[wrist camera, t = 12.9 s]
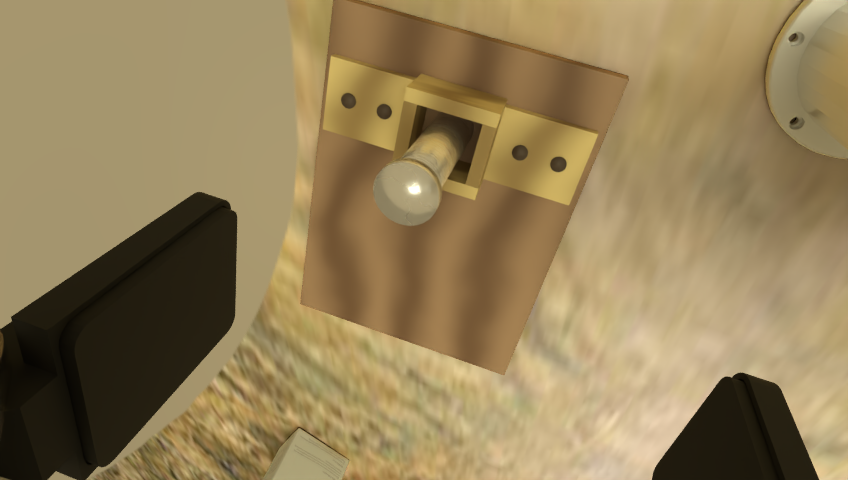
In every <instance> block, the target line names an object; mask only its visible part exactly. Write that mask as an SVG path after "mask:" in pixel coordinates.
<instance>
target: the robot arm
mask: <svg viewBox="0 0 848 480" xmlns="http://www.w3.org/2000/svg"><path fill="white" fill-rule="evenodd" d="M793 33H796V38H795V39H794V40H792V41H789V37H790V36H791V35H792V34H793ZM765 80H766V96H767V100H768V103H769V107H770V110H771V112H772V114H773V116H774V117H775V119H776V121H777V123H778V124H779V125H780V127H781V128H782V129H783V130H784V131H785V132H786V133H787V134H788V135H789V136H790V137H791V138H793V139H794V140H795V141H796V142H797V143H799V144H800V145H802V146H804V147H805V148H807V149H809V150H811V151H813V152H815V153H818V154H822V155H825V156H829V157H832V158H840V159H848V0H804V1H803V2H802V3H801V4H800V6H799V7H798V8H797V9H796V10H795V11H794V13H793V14H792V15H791V16H790V17H789V19H788V20H787V22H786V23H785V25H784V27H783V28H782V30H781V32H780V33H779V35H778V37H777V38H776V41H775V43H774V46H773V48H772V51H771V53H770V56H769V60H768V65H767V70H766V76H765ZM795 117H797V119H796V121H795V122H792V123H790V121H791V120H792V119H793V118H795ZM236 248H237V215H236V213H235V212H234V211H232V210H231V207H230V204H229V202H227V201H226V200H223V199H220V198H217V197H214V196H211V195H208V194H205V193H202V192H197V193H195V194H193V195H191V196H190V197H188V198H187V199H185V200H184V201H182V202H181V203H180V204H178V205H176V206H175V207H174V208H172V209H171V210H169V211H168V212H166V213H165V214H163V215H162V216H160V217H159V218H157V219H156V220H154V221H153V222H151V223H150V224H148V225H147V226H145V227H144V228H142V229H141V230H139V231H138V232H136V233H135V234H133V235H132V236H130V237H129V238H127V239H126V240H125V241H123V242H122V243H120V244H119V245H117V246H116V247H114V248H113V249H111V250H110V251H108V252H107V253H105V254H104V255H102V256H101V257H99V258H98V259H96V260H95V261H93V262H92V263H90V264H89V265H87V266H86V267H85V268H83V269H82V270H80V271H78V272H77V273H76V274H74V275H73V276H71V277H70V278H68V279H67V280H65V281H64V282H62V283H61V284H59V285H58V286H56V287H55V288H53V289H52V290H50V291H49V292H47V293H46V294H44V295H43V296H41V297H40V298H39V299H37V300H35V301H34V302H32V303H31V304H29V305H28V306H27V307H25V308H24V309H22V310H21V311H19V312H18V313H16V314H15V315H13V316H12V317H11V318H12V322H11V323H9V324H8V325H6V326H5V327H3V328H2V329H0V480H47V479H48V478H49V477H50V476H51V475H52V474H53V473H54V472H55V471H57V472H60V473H62V474H64V475H67V476H69V477H72V478H75V479H77V480H86V479H87V478H88V477H89V476H90V474H91V473H92V472H93V471H94V470H95V469H96V468H97V467H98V466H100V467H105V466H107V465H108V464H110V463H111V462H112V461H113V460H114V459H115V458H116V457H117V456H118V454H119V453H120V452H121V451H122V450H123V449H124V448H125V447H126V446H127V444H128V443H129V442H130V441H131V440H132V439H133V438H134V437H135V435H136V434H137V433H138V432H139V431H140V430H141V429H142V428H143V426H144V425H145V424H146V423H147V422H148V421H149V420H150V419H151V418H152V416H153V415H154V414H155V413H156V412H157V411H158V410H159V408H160V407H161V406H162V405H163V404H164V403H165V402H166V401H167V399H168V398H169V397H170V396H171V395H172V394H173V392H175V391H176V389H177V388H178V387H179V386H180V385H181V384H182V383H183V382H184V380H185V379H186V378H187V377H188V376H189V375H190V374H191V373H192V371H193V370H194V369H195V368H196V367H197V366H198V365H199V364H200V362H201V361H202V360H203V359H204V358H205V357H206V356H207V355H208V354H209V352H210V351H211V350H212V349H213V348H214V347H215V346H216V345H217V343H218V342H219V341H220V340H221V339H222V338H223V337H224V336H225V334H226V333H227V332H228V331H229V329H230V328H231V326H232V323H233V321H234V318H235V296H236ZM652 480H819V478H818V476H817V473H816V471H815V469H814V466H813V464H812V462H811V459H810V457H809V455H808V452H807V450H806V447H805V445H804V443H803V440H802V438H801V436H800V433H799V431H798V429H797V426H796V424H795V422H794V419H793V417H792V414H791V412H790V410H789V407H788V405H787V403H786V400H785V398H784V396H783V393H782V391H781V389H780V388H779V386H778V385H776V384H775V383H772V382H769V381H766V380H763V379H760V378H757V377H754V376H751V375H748V374H745V373H737V374H735V375H734V376H733V377H732V378H731V377H724V378H722V379H721V380H720V381H719V383H718V384H717V385H716V387H715V388H714V389H713V391H712V392H711V393H710V395H709V396H708V397H707V399H706V400H705V401H704V403H703V404H702V405H701V407H700V408H699V409H698V411H697V412H696V413H695V415H694V416H693V417H692V419H691V420H690V421H689V423H688V424H687V425H686V427H685V428H684V429H683V431H682V432H681V433H680V435H679V436H678V437H677V439H676V440H675V441H674V443H673V444H672V445H671V447H670V448H669V449H668V451H667V452H666V453H665V455H664V456H663V457H662V459H661V460H660V461H659V463H658V464H657V466H656V467H655V470H654V472H653V477H652Z"/></svg>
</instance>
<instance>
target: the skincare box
mask: <svg viewBox="0 0 848 480" xmlns="http://www.w3.org/2000/svg"><path fill="white" fill-rule="evenodd" d="M348 463H349V460H348V459H347V458H345V457H343V456H342V455H340V454H339V453H337V452H336V451H334V450H333V449H331V448H329V447H328V446H326V445H325V444H323V443H322V442H320V441H319V440H317V439H316V438H314V437H313V436H311V435H310V434H308V433H306V432H305V431H303V430H302V429H300V428H298V429H297V430H296V431H295V432H294V433H293V434H292V435H291V436H290V437H289V438H288V440H287V441H286V442H285V443H284V444H283V445H282V446H281V447H280V448H279V450H278V452H277V454H276V456H275V457H274V459H273V461H272V463H271V465H270V467H269V469H268V470H267V472H266V474H265V476H264V478H263V480H342V478H343V475H344V473H345V470H346V468H347V465H348Z"/></svg>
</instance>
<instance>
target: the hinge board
mask: <svg viewBox="0 0 848 480" xmlns="http://www.w3.org/2000/svg"><path fill="white" fill-rule="evenodd" d="M628 81H629V79H628V76H626V75H622V74H619V73H615V72H612V71H608V70H605V69H601V68H597V67H594V66H590V65H587V64H583V63H580V62H576V61H573V60H569V59H565V58H562V57H558V56H555V55H551V54H548V53H544V52H540V51H537V50H533V49H530V48H526V47H523V46H519V45H515V44H512V43H508V42H505V41H501V40H498V39H494V38H491V37H487V36H483V35H480V34H476V33H473V32H469V31H466V30H462V29H458V28H455V27H451V26H448V25H444V24H441V23H437V22H434V21H430V20H426V19H423V18H419V17H416V16H412V15H409V14H405V13H401V12H398V11H394V10H391V9H387V8H384V7H380V6H376V5H373V4H369V3H366V2H362V1H359V0H333V8H332V17H331V27H330V36H329V45H328V54H327V64H326V73H325V82H324V91H323V100H322V110H321V119H320V128H319V137H318V146H317V156H316V165H315V174H314V183H313V193H312V202H311V211H310V220H309V229H308V239H307V248H306V257H305V266H304V275H303V285H302V294H301V303H300V304H302V305H305V306H308V307H311V308H314V309H316V310H319V311H322V312H325V313H328V314H331V315H333V316H336V317H339V318H342V319H345V320H348V321H351V322H353V323H356V324H359V325H362V326H365V327H368V328H371V329H373V330H376V331H379V332H382V333H385V334H388V335H391V336H393V337H396V338H399V339H402V340H405V341H408V342H411V343H413V344H416V345H419V346H422V347H425V348H428V349H431V350H433V351H436V352H439V353H442V354H445V355H448V356H450V357H453V358H456V359H459V360H462V361H465V362H468V363H470V364H473V365H476V366H479V367H482V368H485V369H488V370H490V371H493V372H496V373H499V374H502V375H504V374H505V372H506V369H507V367H508V365H509V362H510V360H511V358H512V355H513V353H514V350H515V348H516V346H517V343H518V341H519V339H520V336H521V334H522V331H523V329H524V327H525V324H526V322H527V320H528V317H529V315H530V313H531V310H532V308H533V305H534V303H535V301H536V298H537V296H538V294H539V291H540V289H541V287H542V284H543V282H544V279H545V277H546V275H547V272H548V270H549V268H550V265H551V263H552V260H553V258H554V256H555V253H556V251H557V249H558V246H559V244H560V242H561V239H562V237H563V234H564V232H565V230H566V227H567V225H568V223H569V220H570V218H571V215H572V213H573V211H574V208H575V206H576V204H577V201H578V199H579V197H580V194H581V192H582V189H583V187H584V185H585V182H586V180H587V178H588V175H589V173H590V171H591V168H592V166H593V163H594V161H595V159H596V156H597V154H598V152H599V149H600V147H601V144H602V142H603V140H604V137H605V135H606V133H607V130H608V128H609V126H610V123H611V121H612V118H613V116H614V114H615V111H616V109H617V107H618V104H619V102H620V100H621V97H622V95H623V92H624V90H625V88H626V85H627V83H628ZM440 112H444V113H447V114H450V115H454V116H457V117H460V118H464V119H467V120H470V121H472V122H473V125H474V133H473V136H472V138H471V140H470V142H469V143H468V145H467V147H466V148H465V150H464V152H463V153H462V155H461V157H460V158H459V160H458V162H457V163H456V165H455V167H454V168H453V170H452V172H451V173H450V175H449V177H448V178H447V180H446V182H445V183H444V185H443V187H442V198H441V202H440V204H439V206H438V208H437V210H436V212H435V213H434V215H433V216H432V217H431V218H430V219H429V220H428V221H426V222H424V223H422V224H419V225H414V226H407V225H401V224H398V223H396V222H394V221H392V220H390V219H389V218H387V217H386V216H385V215H384V214H383V213H382V212H381V211H380V209H379V208H378V206H377V204H376V202H375V199H374V195H373V185H374V181H375V178H376V176H377V175H378V173H379V172H380V171H381V170H382V169H383V168H384V167H385V166H386V165H387V164H388V163H389V162H391V161H393V160H396V159H399V158H401V157H402V156H403V155H404V154H405V153H406V151H407V150H408V149H409V148H410V147H411V146H412V145H413V143H414V142H415V141H416V140H417V139H418V138H419V136H420V135H421V134H422V133H423V132H424V131H425V129H426V128H427V127H428V126H429V125H430V124H431V122H432V121H433V120H434V119H435V118H436V117H437V115H438V114H439V113H440Z"/></svg>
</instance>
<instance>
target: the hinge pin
mask: <svg viewBox="0 0 848 480" xmlns="http://www.w3.org/2000/svg"><path fill="white" fill-rule="evenodd" d="M473 133H474V125H473V122H472V121H470V120H467V119H464V118H460V117H457V116H454V115H450V114H447V113H444V112H440V113H439V114H438V115H437V117H436V118H435V119H434V120H433V121H432V122H431V124H430V125H429V126H428V127H427V128H426V129H425V131H424V132H423V133H422V134H421V135H420V136H419V138H418V139H417V140H416V141H415V142H414V143H413V145H412V146H411V147H410V148H409V149H408V150H407V151H406V153H405V154H404V155H403V156H402V157H401V158H399V159H396V160H393V161H391V162H389V163H388V164H387V165H386V166H385V167H384V168H383V169H382V170H381V171H380V172H379V173H378V175H377V176H376V178H375V181H374V185H373V195H374V199H375V202H376V204H377V206H378V208H379V209H380V211H381V212H382V213H383V214H384V215H385V216H386V217H387V218H389V219H390V220H392V221H394V222H396V223H398V224H401V225H407V226H414V225H419V224H422V223H424V222H426V221H428V220H429V219H430V218H431V217H432V216H433V215H434V213H435V212H436V210H437V208H438V206H439V204H440V202H441V198H442V187H443V185H444V183H445V182H446V180H447V178H448V177H449V175H450V173H451V172H452V170H453V168H454V167H455V165H456V163H457V162H458V160H459V158H460V157H461V155H462V153H463V152H464V150H465V148H466V147H467V145H468V143H469V142H470V140H471V138H472V136H473Z"/></svg>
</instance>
